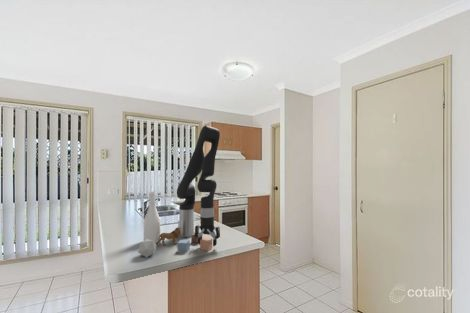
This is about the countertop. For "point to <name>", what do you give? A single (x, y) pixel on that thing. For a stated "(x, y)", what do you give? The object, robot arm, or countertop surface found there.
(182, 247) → the slate blue cube
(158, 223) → the wine bottle
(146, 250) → the grey rounded lump
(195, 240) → the walnut cube
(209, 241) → the terracotta cube
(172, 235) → the lion figurine
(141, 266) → the countertop surface
